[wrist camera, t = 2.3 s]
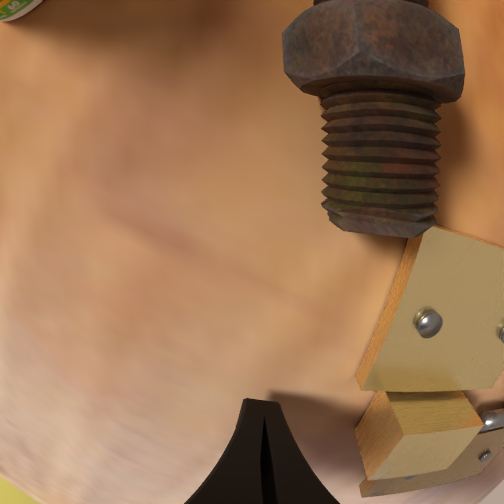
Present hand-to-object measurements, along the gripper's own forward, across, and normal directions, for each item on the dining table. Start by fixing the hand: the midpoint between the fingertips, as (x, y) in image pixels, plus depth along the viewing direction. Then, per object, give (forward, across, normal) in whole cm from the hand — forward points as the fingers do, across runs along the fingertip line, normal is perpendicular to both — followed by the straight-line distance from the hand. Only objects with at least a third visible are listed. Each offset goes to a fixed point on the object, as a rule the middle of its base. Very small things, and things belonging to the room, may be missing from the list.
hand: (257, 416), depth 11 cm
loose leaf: (+1, -8, -3) cm, 8 cm away
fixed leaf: (+1, -14, +3) cm, 14 cm away
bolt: (+2, 0, -16) cm, 16 cm away
